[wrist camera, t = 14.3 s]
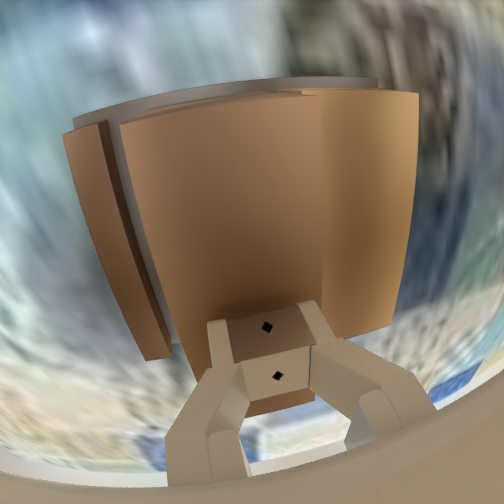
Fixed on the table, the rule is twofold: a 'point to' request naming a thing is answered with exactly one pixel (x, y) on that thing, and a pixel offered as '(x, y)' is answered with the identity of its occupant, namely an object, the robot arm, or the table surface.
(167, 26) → the table surface
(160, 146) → the walnut plank
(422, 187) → the table surface
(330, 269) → the floor section
